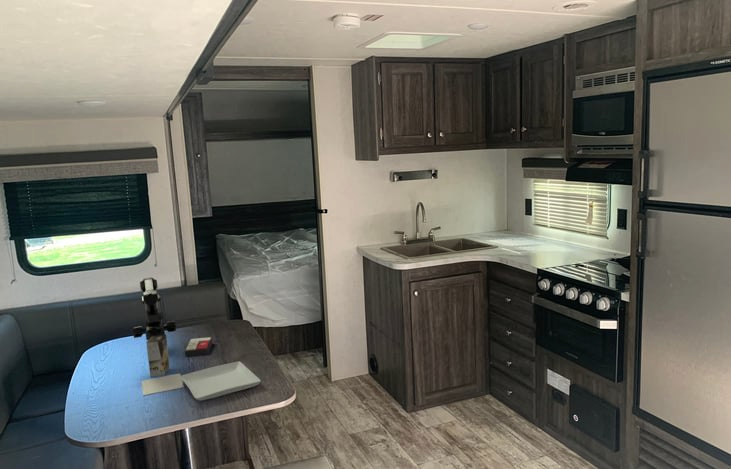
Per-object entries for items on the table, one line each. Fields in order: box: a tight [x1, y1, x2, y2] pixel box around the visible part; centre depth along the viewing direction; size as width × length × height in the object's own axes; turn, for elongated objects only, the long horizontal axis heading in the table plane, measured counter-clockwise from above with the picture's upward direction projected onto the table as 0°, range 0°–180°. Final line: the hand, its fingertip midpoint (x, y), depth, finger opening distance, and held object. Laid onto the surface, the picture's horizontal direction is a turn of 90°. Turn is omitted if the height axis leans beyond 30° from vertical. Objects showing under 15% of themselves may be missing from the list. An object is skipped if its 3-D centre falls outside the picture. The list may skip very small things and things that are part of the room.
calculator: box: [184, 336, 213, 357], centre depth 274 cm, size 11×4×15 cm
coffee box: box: [146, 334, 171, 377], centre depth 246 cm, size 9×6×16 cm
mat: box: [141, 372, 185, 397], centre depth 234 cm, size 16×16×1 cm
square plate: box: [179, 361, 262, 402], centre depth 230 cm, size 27×27×4 cm
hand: (156, 345), depth 252 cm, fingers closed
